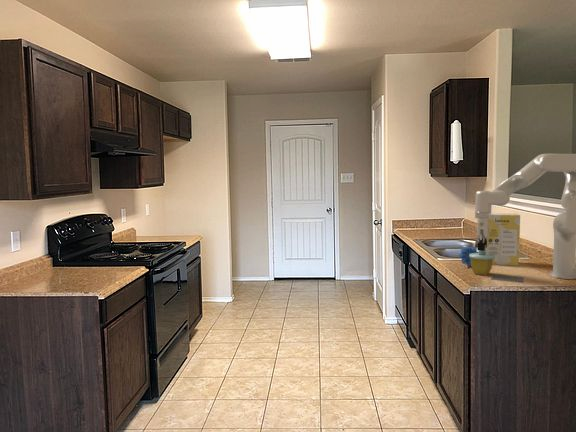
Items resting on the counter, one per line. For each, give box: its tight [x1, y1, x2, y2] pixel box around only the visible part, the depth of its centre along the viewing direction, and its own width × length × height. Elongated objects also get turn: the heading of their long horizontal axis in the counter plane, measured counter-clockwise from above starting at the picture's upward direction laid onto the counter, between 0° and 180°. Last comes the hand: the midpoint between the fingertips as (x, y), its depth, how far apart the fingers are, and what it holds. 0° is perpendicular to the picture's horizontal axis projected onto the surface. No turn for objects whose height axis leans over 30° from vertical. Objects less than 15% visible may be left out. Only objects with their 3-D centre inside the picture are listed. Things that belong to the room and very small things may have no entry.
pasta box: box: [486, 212, 521, 266], centre depth 270 cm, size 18×10×28 cm, turn 74°
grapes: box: [458, 244, 479, 268], centre depth 259 cm, size 12×7×12 cm, turn 85°
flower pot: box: [470, 258, 493, 276], centre depth 242 cm, size 9×9×9 cm
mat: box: [490, 274, 525, 284], centre depth 231 cm, size 14×12×1 cm
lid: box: [469, 245, 495, 259], centre depth 241 cm, size 12×12×6 cm
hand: (482, 249), depth 241 cm, fingers open, 9 cm apart
